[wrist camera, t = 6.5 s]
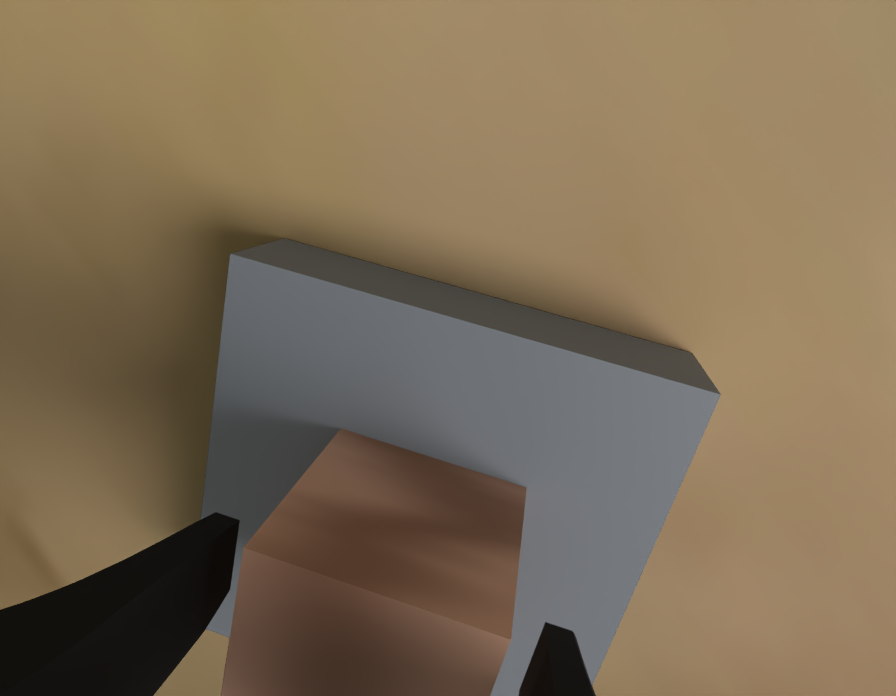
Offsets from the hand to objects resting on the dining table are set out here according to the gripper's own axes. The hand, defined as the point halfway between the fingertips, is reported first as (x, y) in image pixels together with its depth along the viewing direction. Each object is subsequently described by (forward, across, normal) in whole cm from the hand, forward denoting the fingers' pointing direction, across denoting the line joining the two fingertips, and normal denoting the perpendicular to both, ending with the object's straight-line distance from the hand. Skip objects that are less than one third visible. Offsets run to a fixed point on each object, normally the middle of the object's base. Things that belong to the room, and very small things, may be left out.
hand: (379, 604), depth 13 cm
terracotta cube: (+3, 0, 0) cm, 3 cm away
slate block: (+6, 0, 0) cm, 6 cm away
